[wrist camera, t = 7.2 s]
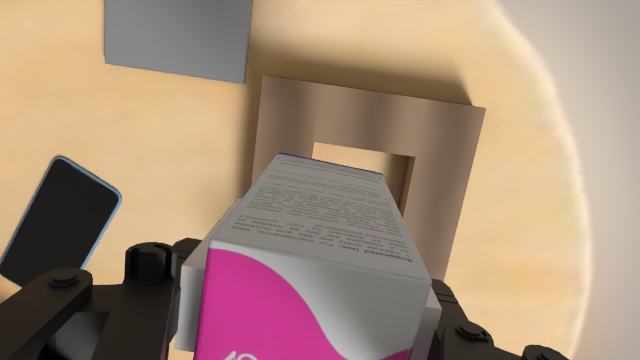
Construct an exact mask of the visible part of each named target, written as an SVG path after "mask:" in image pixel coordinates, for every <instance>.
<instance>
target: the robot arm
mask: <svg viewBox="0 0 640 360" xmlns="http://www.w3.org/2000/svg"><path fill="white" fill-rule="evenodd" d="M241 199H242V198H239V197H238V199H237V200H236V201H235V202H234V203H233V205H232V206H231V207H230V208H229V209H228V211H227V212H226V213H225V214H224V215H223V217H222V218H221V219H220V220H219V221H218V223H217V224H216V225H215V226H214V227H213V228H212V230H211V231H210V232H209V233H208V234H207V236H206V237H205V238H204V239H203V240H198V239H192V238H185V239H183V240H180V241H178V242H176V243H175V244H174V245H173V246H171V245H168V244H165V243H158V242H146V243H141V244H136V245H134V246H132V247H129V249H128V250H127V251H126V255H125V276H124V281H123V283H122V284H116V285H93V278H92V274H91V273H89V272H88V271H87V270H83V269H79V268H64V269H63V268H60V269H56V270H53V271H50V272H46V273H44V274H43V275H41V276H39V277H37V278H36V279H34V280H33V281H32V282H30V283H29V284H27V285H26V286H25V287H23V288H22V289H21V290H19V291H18V292H16V293H15V294H14V295H12V296H11V297H9V298H8V299H7V300H5V301H4V302H2V303H1V304H0V360H168V354H169V343H170V342H171V340H172V339H173V337H174V335H175V334H176V337H175V348H174V349H178V350H184V351H190V352H194V351H195V342H196V335H197V326H198V318H199V311H200V303H201V296H202V288H203V280H204V273H205V265H206V258H207V252H208V244H209V240H210V238H211V237H212V236H213V234H214V233H215V232H216V231H217V230H218V228H219V227H220V226H221V224H222V223H223V222H224V221H225V220H226V218H227V217H228V216H229V214H230V213H231V212H232V211H233V209H234V208H235V207H236V206H237V204H238V203H239V202H240V201H241ZM431 280H432V284H431V288H430V292H429V295H428V299H427V302H426V306H425V309H424V311H423V315H422V319H421V323H420V326H419V329H418V333H417V337H416V340H415V343H414V346H413V350H412V353H411V357H410V360H569V359H567V358H566V357H564V356H563V355H562V354H561V353H559V352H557V351H556V350H553V349H551V348H549V347H544V346H540V345H528V346H526V347H525V349H524V351H523V354H522V357H521V356H518V355H516V354H513V353H510V352H507V351H504V350H502V349H499V348H497V347H495V346H494V342H493V339H492V337H491V335H490V334H489V333H488V332H487V331H486V330H485V329H484V328H482V327H480V326H479V325H477V324H475V323H473V322H470V321H469V320H468V318H467V317H466V315H465V313H464V311H463V310H462V308H461V306H460V305H459V303H458V301H457V299H456V298H455V296H454V294H453V292H452V290H451V289H450V287H448V286H447V285H446V284H445V283H444V282H442V281H441V280H438V279H433V278H431Z"/></svg>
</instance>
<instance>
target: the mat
mask: <svg viewBox="0 0 640 360" xmlns="http://www.w3.org/2000/svg"><path fill="white" fill-rule="evenodd" d="M252 5H253V0H105V64H111V65H118V66H125V67H131V68H138V69H145V70H152V71H158V72H165V73H172V74H179V75H185V76H192V77H199V78H206V79H212V80H219V81H226V82H233V83H239V84H245V80H246V69H247V58H248V48H249V37H250V26H251V15H252Z"/></svg>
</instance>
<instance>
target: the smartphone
mask: <svg viewBox="0 0 640 360" xmlns="http://www.w3.org/2000/svg"><path fill="white" fill-rule="evenodd" d="M121 202H122V196H121V194H120V192H119V191H118V190H117V189H115V188H114V187H112V186H111V185H108V183H106V182H104V181H103V180H101V179H100V178H98V177H97V176H94V175H92V174H91V173H89V172H88V171H87V170H85V169H84V168H82V167H80V166H78V165H77V164H75V163H74V162H72V161H70V160H69V159H67V158H65V157H57V158H55V159H54V160H53V161H52V163H51V165H50V167H49V168H48V170H47V172H46V174H45V176H44V178H43V180H42V182H41V184H40V186H39V188H38V190H37V192H36V194H35V196H34V198H33V200H32V202H31V204H30V205H29V207H28V209H27V211H26V213H25V215H24V217H23V219H22V221H21V223H20V225H19V227H18V228H17V230H16V232H15V235H14V237H13V239H12V240H11V242H10V244H9V246H8V248H7V250H6V252H5V254H4V256H3V258H2V260H1V262H0V274H1V275H2V276H3V277H4V278H6V279H7V280H9V281H11V282H13V283H14V284H16V285H18V286H19V287H21V288H23V287H25V286H26V285H27V284H29V283H30V282H32V281H33V280H34V279H36V278H37V277H39V276H41V275H43V274H44V273H46V272H50V271H53V270H56V269H60V268H63V269H64V268H79V269H84V267H85V265H86V263H87V262H88V260H89V258H90V257H91V255H92V253H93V251H94V250H95V248H96V246H97V244H98V243H99V241H100V239H101V237H102V236H103V234H104V232H105V231H106V229H107V227H108V225H109V224H110V222H111V220H112V218H113V217H114V215H115V213H116V211H117V210H118V208H119V206H120V204H121Z"/></svg>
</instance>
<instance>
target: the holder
mask: <svg viewBox="0 0 640 360" xmlns="http://www.w3.org/2000/svg"><path fill="white" fill-rule="evenodd" d="M485 111H486V108H482V107H476V106H470V105H463V104H456V103H450V102H443V101H436V100H429V99H423V98H416V97H409V96H402V95H396V94H389V93H382V92H375V91H369V90H362V89H355V88H348V87H342V86H335V85H328V84H321V83H315V82H308V81H301V80H294V79H288V78H281V77H274V76H267V75H263V76H262V86H261V96H260V105H259V115H258V125H257V134H256V144H255V154H254V164H253V173H252V183H251V186H252V185H253V184H254V183H255V182H256V180H257V179H258V178H259V176H260V175H261V174H262V173H263V171H264V170H265V169H266V168H267V166H268V165H269V164H270V163H271V161H272V160H273V159H274V158H275V157H276V155H277V154H278V153H286V154H291V155H296V156H301V157H306V158H311V159H312V152H313V145H314V142H319V143H325V144H332V145H339V146H345V147H352V148H359V149H366V150H372V151H379V152H386V153H393V154H399V155H406V156H408V159H407V164H406V168H405V173H404V178H403V183H402V188H401V193H400V198H399V203H398V210H399V212H400V214H401V216H402V218H403V220H404V222H405V224H406V226H407V229H408V231H409V233H410V235H411V237H412V240H413V242H414V244H415V246H416V248H417V250H418V252H419V254H420V256H421V258H422V261H423V263H424V265H425V267H426V269H427V271H428V273H429V275H430V277H431V278H433V279H438V280H441V281H442V282H443V281H444V277H445V273H446V269H447V265H448V261H449V257H450V253H451V249H452V245H453V241H454V237H455V233H456V229H457V225H458V221H459V217H460V213H461V208H462V204H463V200H464V196H465V192H466V188H467V184H468V180H469V176H470V172H471V168H472V164H473V160H474V156H475V152H476V148H477V144H478V140H479V135H480V131H481V127H482V123H483V119H484V115H485Z"/></svg>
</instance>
